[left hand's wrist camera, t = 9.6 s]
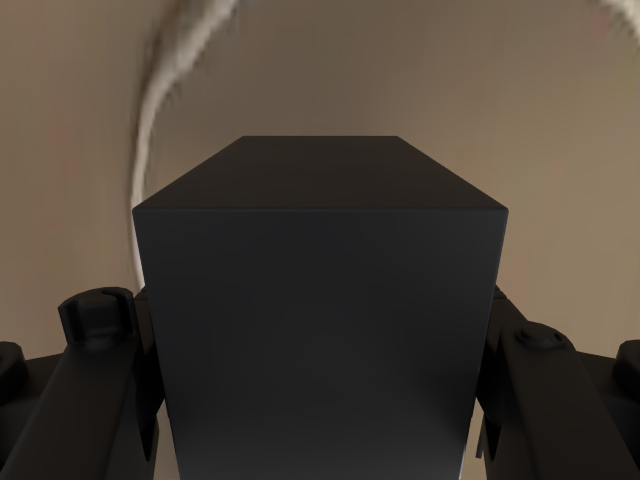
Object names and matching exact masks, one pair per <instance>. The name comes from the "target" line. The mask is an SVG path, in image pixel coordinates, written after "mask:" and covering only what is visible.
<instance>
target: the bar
mask: <svg viewBox="0 0 640 480" xmlns="http://www.w3.org/2000/svg"><path fill="white" fill-rule="evenodd" d="M508 213H509V211H508V208H506V207H505V206H503V205H502V204H500V203H499V202H497V201H496V200H494V199H493V198H491V197H490V196H488V195H487V194H485V193H484V192H482V191H480V190H479V189H477V188H476V187H474V186H473V185H471V184H470V183H468V182H467V181H465V180H464V179H462V178H461V177H459V176H458V175H456V174H454V173H453V172H451V171H450V170H448V169H447V168H445V167H444V166H442V165H441V164H439V163H438V162H436V161H435V160H433V159H432V158H430V157H429V156H427V155H425V154H424V153H422V152H421V151H419V150H418V149H416V148H415V147H413V146H412V145H410V144H409V143H407V142H406V141H404V140H403V139H401V138H399V137H398V136H242V137H241V138H239V139H238V140H236V141H235V142H233V143H232V144H230V145H229V146H227V147H226V148H224V149H222V150H221V151H219V152H218V153H216V154H215V155H213V156H212V157H210V158H209V159H207V160H206V161H204V162H203V163H201V164H200V165H198V166H197V167H195V168H194V169H192V170H190V171H189V172H187V173H186V174H184V175H183V176H181V177H180V178H178V179H177V180H175V181H174V182H172V183H171V184H169V185H168V186H166V187H165V188H163V189H162V190H160V191H158V192H157V193H155V194H154V195H152V196H151V197H149V198H148V199H146V200H145V201H143V202H142V203H140V204H139V205H137V206H136V207H134V208H133V209H132V215H133V221H134V226H135V232H136V237H137V243H138V248H139V254H140V259H141V265H142V270H143V276H144V281H145V287H146V292H147V298H148V304H149V309H150V315H151V320H152V326H153V331H154V337H155V342H156V348H157V353H158V359H159V364H160V370H161V375H162V381H163V387H164V392H165V398H166V403H167V409H168V414H169V420H170V425H171V431H172V436H173V442H174V447H175V453H176V458H177V464H178V470H179V475H180V480H460V477H461V472H462V466H463V461H464V455H465V450H466V444H467V439H468V433H469V428H470V422H471V417H472V411H473V406H474V400H475V395H476V389H477V384H478V378H479V372H480V367H481V361H482V356H483V350H484V345H485V339H486V334H487V328H488V323H489V317H490V312H491V306H492V301H493V295H494V290H495V284H496V279H497V273H498V268H499V262H500V257H501V251H502V246H503V240H504V235H505V229H506V224H507V218H508Z"/></svg>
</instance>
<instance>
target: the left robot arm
mask: <svg viewBox="0 0 640 480" xmlns="http://www.w3.org/2000/svg"><path fill="white" fill-rule="evenodd" d="M58 311H59V315H60V318H61V322H62V326H63V329H64V333H65V336H66V340H67V344H68V345H67V347H66V348H65V350H64V352H63V353H61V354H57V355H51V356H46V357H41V358H35V359H30V360H25V358H24V355H23V352H22V349H21V347H20V346H19V345H17V344H16V343H13V342H5V341H2V342H0V480H153V477H154V469H155V461H156V453H157V446H158V438H159V426H158V420H157V415H156V414H157V412H158V410H159V408H160V406H161V404H162V402H163V400H164V398H165V392H164V387H163V381H162V375H161V370H160V364H159V359H158V353H157V348H156V342H155V337H154V331H153V326H152V320H151V315H150V309H149V304H148V298H147V292H146V287H145V286H144V287H143V288H142V290H141V292H139V293H138V294H137V295H136V296H135V298H133V293H132V292H131V291H129V290H128V289H126V288H120V287H103V288H97V289H92V290H88V291H85V292H82V293H79V294H76V295H74V296H73V297H71V298H69V299H67V300H65V301H64V302H63V303H62V304H61V305H60V306H59V307H58ZM476 397H477V399H478V401H479V403H480V405H481V407H482V409H483V411H484V415H483V420H482V425H481V431H480V436H479V441H478V446H477V452H476V458H480V459H481V457H482V452H484V460H485V468H486V476H487V480H640V340H629V341H625V342H624V343H622V344H621V345H620V347H619V350H618V353H617V356H616V359H615V358H609V357H604V356H599V355H593V354H588V353H583V352H579V351H576V350H575V348H574V346H573V344H572V343H571V342H570V340H569V339H568V338H567V337H566V336H565V335H563V334H562V333H560V332H559V331H557V330H556V329H554V328H551V327H549V326H546V325H544V324H540V323H536V322H531V321H528V320H527V319H526V318H525V317H524V316H523V315H522V314H521V312H520V311H519V310H518V309H517V308H516V307H515V306H514V305H513V303H512V302H511V301H510V300H509V299H507V297H506V295H505V294H504V293H503V292H502V291H500V289H499V288H498V286H497V285H496V284H495V290H494V295H493V301H492V306H491V312H490V317H489V323H488V328H487V334H486V339H485V345H484V350H483V356H482V361H481V367H480V372H479V378H478V384H477V389H476V395H475V399H476ZM165 403H166V398H165ZM474 405H475V400H474ZM166 409H167V403H166ZM473 410H474V406H473ZM167 414H168V409H167ZM472 416H473V411H472ZM168 417H169V414H168Z"/></svg>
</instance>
